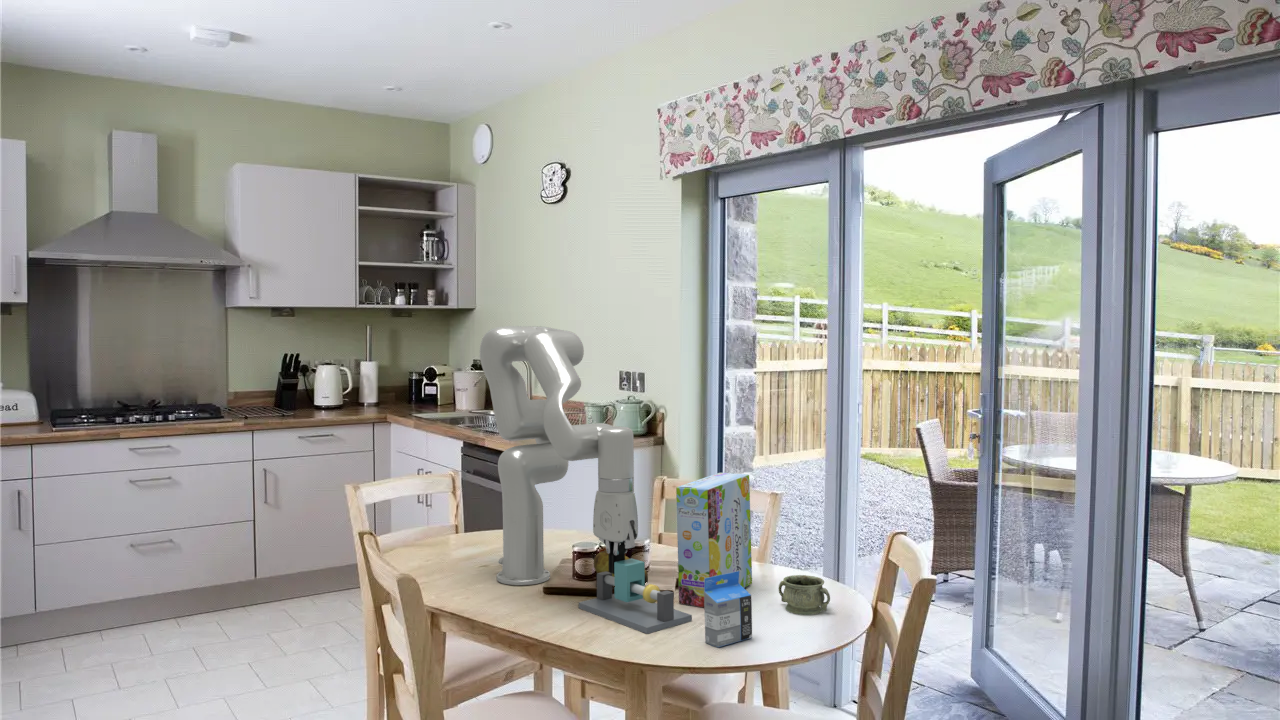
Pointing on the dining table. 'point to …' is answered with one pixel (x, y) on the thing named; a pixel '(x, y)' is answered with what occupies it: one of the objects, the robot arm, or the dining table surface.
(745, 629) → the label tape box
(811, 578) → the vessel
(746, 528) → the snack box
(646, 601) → the slider rail stand
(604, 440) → the robot arm
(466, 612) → the dining table surface
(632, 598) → the teal sliding cube
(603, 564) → the potato
